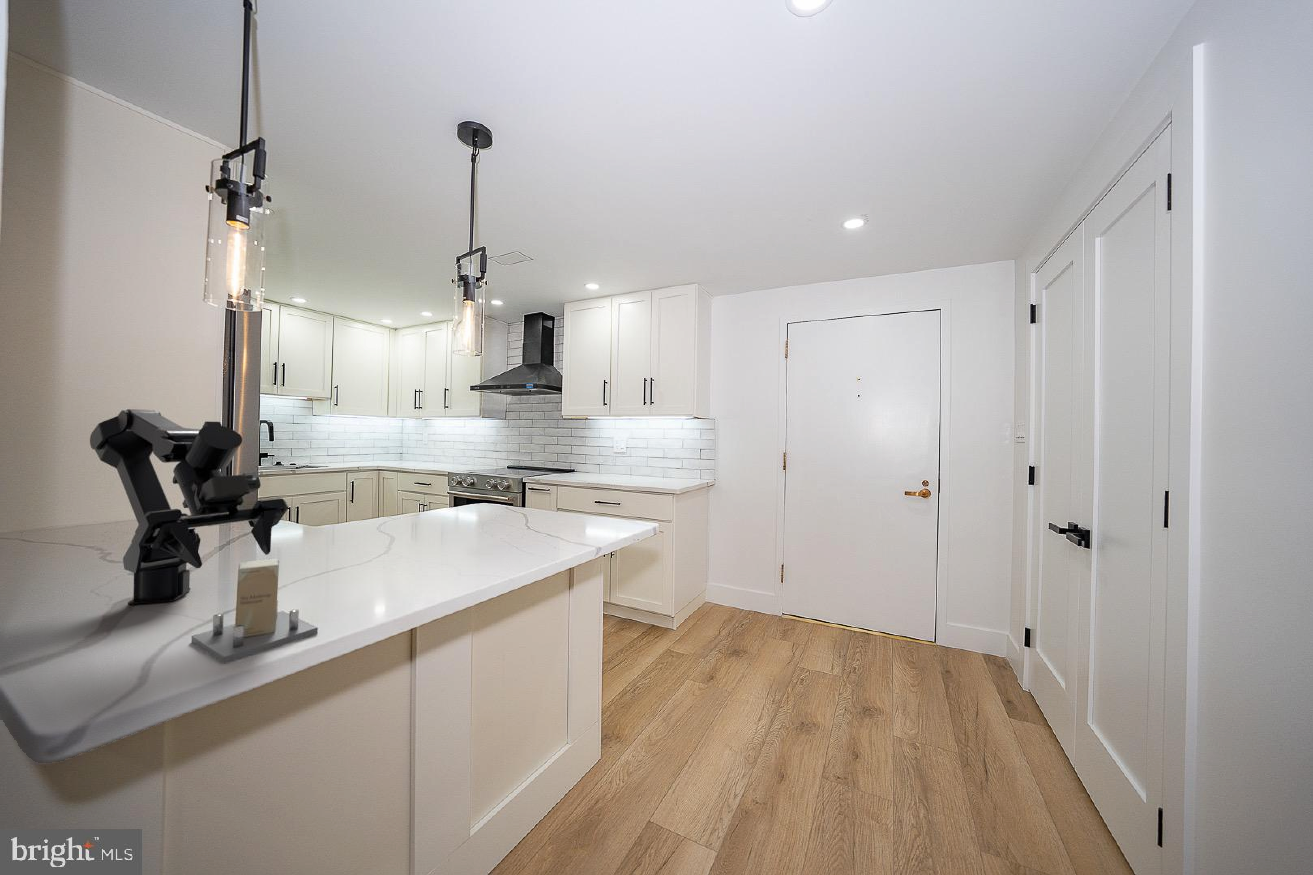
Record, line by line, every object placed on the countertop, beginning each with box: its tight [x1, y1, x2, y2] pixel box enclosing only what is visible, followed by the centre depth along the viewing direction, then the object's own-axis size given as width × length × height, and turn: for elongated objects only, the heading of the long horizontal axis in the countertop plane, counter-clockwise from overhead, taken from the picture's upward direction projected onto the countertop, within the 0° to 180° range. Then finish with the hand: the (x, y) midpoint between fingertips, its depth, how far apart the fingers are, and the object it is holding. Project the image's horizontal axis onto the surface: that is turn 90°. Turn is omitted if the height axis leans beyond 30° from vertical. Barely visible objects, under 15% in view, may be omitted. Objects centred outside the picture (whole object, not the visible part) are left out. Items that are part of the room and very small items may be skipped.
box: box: [234, 558, 280, 637], centre depth 76 cm, size 5×4×11 cm
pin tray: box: [191, 599, 319, 665], centre depth 75 cm, size 12×12×4 cm
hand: (235, 559), depth 78 cm, fingers open, 9 cm apart
